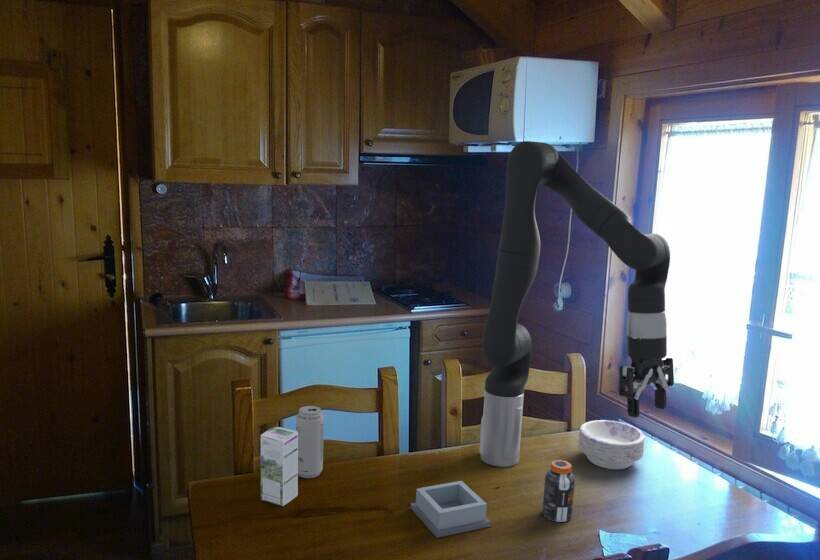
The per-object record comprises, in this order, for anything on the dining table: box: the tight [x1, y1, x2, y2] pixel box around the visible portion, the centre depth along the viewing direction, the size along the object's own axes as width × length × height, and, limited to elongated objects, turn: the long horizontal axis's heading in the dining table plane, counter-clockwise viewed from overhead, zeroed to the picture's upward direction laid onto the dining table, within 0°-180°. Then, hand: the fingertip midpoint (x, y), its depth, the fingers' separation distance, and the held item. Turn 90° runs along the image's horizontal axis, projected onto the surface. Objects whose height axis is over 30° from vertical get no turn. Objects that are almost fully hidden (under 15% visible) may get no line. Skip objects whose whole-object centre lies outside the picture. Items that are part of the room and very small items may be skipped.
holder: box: [410, 480, 492, 538], centre depth 138 cm, size 12×12×4 cm
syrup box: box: [260, 426, 299, 507], centre depth 142 cm, size 6×6×14 cm
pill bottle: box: [541, 459, 576, 523], centre depth 140 cm, size 6×6×11 cm
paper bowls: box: [578, 419, 646, 470], centre depth 167 cm, size 15×15×8 cm
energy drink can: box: [295, 405, 325, 479], centre depth 154 cm, size 6×6×15 cm
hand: (647, 412), depth 140 cm, fingers open, 8 cm apart
